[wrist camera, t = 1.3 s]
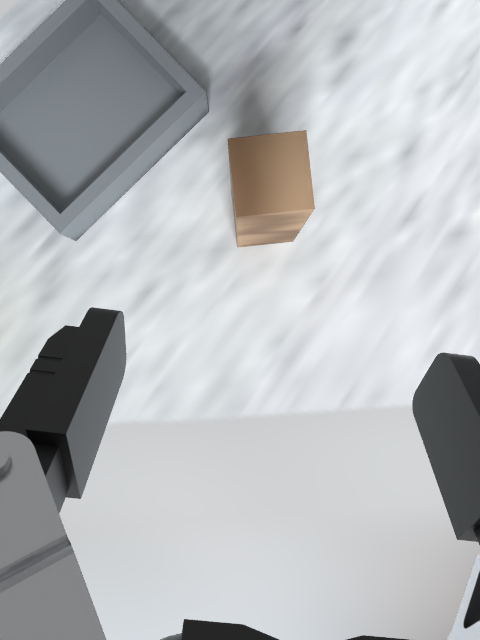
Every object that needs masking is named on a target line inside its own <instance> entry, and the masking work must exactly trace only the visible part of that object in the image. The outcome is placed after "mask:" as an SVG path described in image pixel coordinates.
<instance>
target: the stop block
mask: <svg viewBox="0 0 480 640" xmlns="http://www.w3.org/2000/svg"><path fill="white" fill-rule="evenodd" d="M228 149H229V162H230V176H231V190H232V200H233V209H234V218H235V228H236V237H237V246H238V247H246V246H255V245H264V244H274V243H283V242H292V241H293V240H294V239H295V237H296V236H297V234H298V233H299V231H300V230H301V228H302V227H303V225H304V224H305V222H306V221H307V219H308V218H309V216H310V215H311V213H312V212H313V210H314V209H315V208H314V198H313V189H312V180H311V170H310V161H309V152H308V143H307V133H306V130H304V131H294V132H285V133H276V134H267V135H258V136H248V137H239V138H230V139H228Z"/></svg>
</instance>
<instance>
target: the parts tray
mask: <svg viewBox="0 0 480 640" xmlns="http://www.w3.org/2000/svg"><path fill="white" fill-rule="evenodd" d="M208 112H209V110H208V103H207V97H206V91H205V90H204V89H203V88H202V87H201V86H200V85H199V84H198V83H197V82H196V81H195V80H194V79H193V78H192V77H191V76H190V75H189V74H188V73H187V72H186V71H185V70H184V69H183V68H182V67H181V66H180V65H179V64H178V63H177V62H176V61H175V60H174V58H173V57H172V56H171V55H170V54H169V53H168V52H167V51H166V50H165V49H164V48H163V47H162V46H161V45H160V44H159V43H158V42H157V41H156V40H155V39H154V38H153V37H152V36H151V35H150V34H149V33H148V32H147V31H146V30H145V29H144V28H143V27H142V26H141V24H140V23H139V22H138V21H137V20H136V19H135V18H134V17H133V16H132V15H131V14H130V13H129V12H128V11H127V10H126V9H125V8H124V7H123V6H122V5H121V4H120V3H119V2H118V1H117V0H66V1H65V2H64V3H63V4H62V5H61V6H60V7H59V8H58V9H57V10H56V11H55V12H54V13H53V14H52V15H51V16H50V17H49V18H48V19H47V20H46V21H45V22H44V23H43V24H42V25H41V26H39V27H38V28H37V29H36V30H35V31H34V32H33V33H32V34H31V35H30V36H29V37H28V38H27V39H26V40H25V41H24V42H23V43H22V44H21V45H20V46H19V47H18V48H17V49H16V50H15V51H14V52H13V53H12V54H11V55H10V56H9V57H8V58H7V59H6V60H5V61H4V62H2V63H1V64H0V172H1V173H2V174H3V175H4V176H5V177H6V178H7V179H8V180H9V181H10V182H11V184H12V185H13V186H14V187H15V188H16V189H17V190H18V191H19V192H20V193H21V194H22V195H23V196H24V197H25V198H26V199H27V200H28V201H29V202H30V203H31V204H32V205H33V206H34V207H35V208H36V209H37V210H38V211H39V212H40V213H41V214H42V215H43V216H44V218H45V219H46V220H47V221H48V222H49V223H50V224H51V225H52V226H53V227H54V228H55V229H56V230H57V231H58V232H59V233H60V234H62V235H64V236H66V237H68V238H71V239H73V240H75V241H77V240H78V239H79V238H80V237H81V236H82V235H83V234H84V233H85V232H86V231H87V230H88V229H89V228H90V227H91V226H92V225H93V224H94V223H95V222H96V221H97V220H98V219H99V218H100V217H101V216H102V215H103V214H104V213H105V212H106V211H107V210H108V209H109V208H111V207H112V206H113V205H114V204H115V203H116V202H117V201H118V200H119V199H120V198H121V197H122V196H123V195H124V194H125V193H126V192H127V191H128V190H129V189H130V188H131V187H132V186H133V185H134V184H135V183H136V182H137V181H138V180H139V179H140V178H141V177H142V176H143V175H144V174H146V173H147V172H148V171H149V170H150V169H151V168H152V167H153V166H154V165H155V164H156V163H157V162H158V161H159V160H160V159H161V158H162V157H163V156H164V155H165V154H166V153H167V152H168V151H169V150H170V149H171V148H172V147H173V146H174V145H175V144H176V143H177V142H178V141H179V140H180V139H182V138H183V137H184V136H185V135H186V134H187V133H188V132H189V131H190V130H191V129H192V128H193V127H194V126H195V125H196V124H197V123H198V122H199V121H200V120H201V119H202V118H203V117H204V116H205V115H206V114H207V113H208Z"/></svg>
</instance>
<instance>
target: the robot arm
mask: <svg viewBox="0 0 480 640" xmlns="http://www.w3.org/2000/svg"><path fill="white" fill-rule="evenodd" d="M125 366H126V344H125V327H124V315H123V312H122V311H116V310H108V309H100V308H90V309H89V310H88V312H87V313H86V315H85V317H84V319H83V321H82V323H81V325H80V327H74V326H64V327H63V328H62V329H60V330H59V331H58V332H57V333H55V334H54V335H53V336H51V337H50V338H49V339H48V340H47V342H46V344H45V345H44V347H43V349H42V350H41V352H40V354H39V355H38V359H36V360H35V362H34V364H33V365H32V367H31V369H30V373H28V374H27V375H26V377H25V379H24V380H23V382H22V384H21V385H20V387H19V389H18V390H17V392H16V394H15V395H14V397H13V399H12V400H11V402H10V404H9V405H8V407H7V409H6V410H5V412H4V414H3V415H2V417H1V419H0V640H106V638H105V635H104V632H103V630H102V627H101V624H100V621H99V618H98V616H97V613H96V610H95V608H94V605H93V602H92V600H91V597H90V594H89V592H88V589H87V586H86V583H85V580H84V578H83V575H82V572H81V570H80V567H79V564H78V562H77V559H76V556H75V553H74V551H73V548H72V546H71V543H70V541H69V540H68V537H67V534H66V532H65V529H64V527H63V524H62V521H61V518H60V515H59V512H60V510H61V508H62V505H63V502H64V500H65V497H68V498H79V499H81V496H82V494H83V491H84V488H85V485H86V482H87V479H88V477H89V474H90V471H91V468H92V465H93V462H94V460H95V457H96V454H97V451H98V448H99V445H100V442H101V440H102V437H103V434H104V431H105V428H106V425H107V423H108V420H109V417H110V414H111V411H112V408H113V405H114V403H115V400H116V397H117V394H118V391H119V388H120V386H121V383H122V380H123V376H124V372H125ZM413 414H414V417H415V420H416V423H417V426H418V429H419V432H420V434H421V437H422V440H423V443H424V445H425V449H426V452H427V454H428V457H429V460H430V463H431V466H432V469H433V472H434V474H435V477H436V480H437V483H438V486H439V489H440V492H441V495H442V497H443V500H444V503H445V506H446V509H447V512H448V514H449V517H450V520H451V523H452V526H453V529H454V532H455V535H456V538H457V540H466V541H476V542H479V545H480V364H479V362H478V361H477V360H476V359H475V358H474V357H472V356H466V355H458V354H450V353H440V354H438V355H437V356H436V358H435V359H434V361H433V363H432V364H431V366H430V368H429V369H428V371H427V373H426V374H425V376H424V378H423V379H422V381H421V383H420V385H419V386H418V388H417V390H416V391H415V394H414V397H413ZM161 640H279V639H276V638H274V637H271V636H269V635H267V634H264V633H262V632H260V631H257V630H255V629H252V628H250V627H247V626H245V625H241V624H231V623H220V622H209V621H198V620H187V619H184V623H183V630H182V633H181V634H177V635H172V636H169V637H166V638H163V639H161ZM348 640H407V639H395V638H385V637H374V636H360V637H355V638H351V639H348ZM446 640H480V554H479V555H478V556H477V558H476V560H475V562H474V565H473V568H472V571H471V574H470V577H469V580H468V583H467V586H466V589H465V592H464V595H463V598H462V601H461V604H460V607H459V609H458V612H457V615H456V618H455V621H454V624H453V628H452V630H451V632H450V634H449V635H448V637H447V639H446Z"/></svg>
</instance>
